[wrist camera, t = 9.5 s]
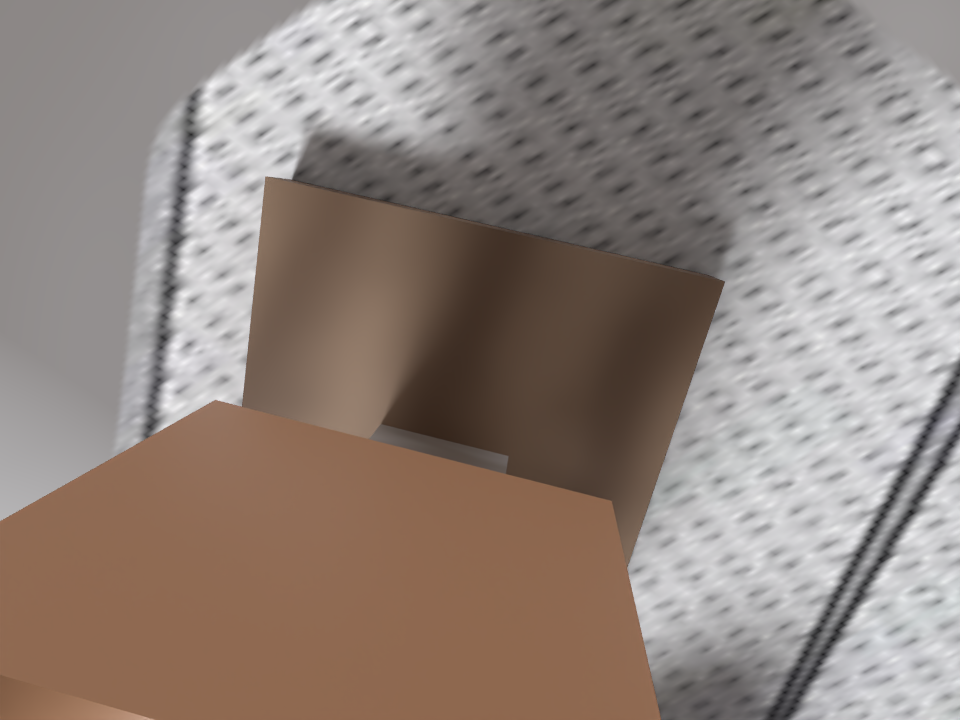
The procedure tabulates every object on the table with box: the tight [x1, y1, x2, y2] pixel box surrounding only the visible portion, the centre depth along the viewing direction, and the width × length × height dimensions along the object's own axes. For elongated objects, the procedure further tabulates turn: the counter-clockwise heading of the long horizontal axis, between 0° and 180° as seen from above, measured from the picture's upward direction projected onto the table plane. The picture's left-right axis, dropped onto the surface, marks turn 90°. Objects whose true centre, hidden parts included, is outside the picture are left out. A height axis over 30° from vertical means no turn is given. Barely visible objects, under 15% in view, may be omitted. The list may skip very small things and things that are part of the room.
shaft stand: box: [242, 177, 725, 567], centre depth 18 cm, size 16×18×10 cm
